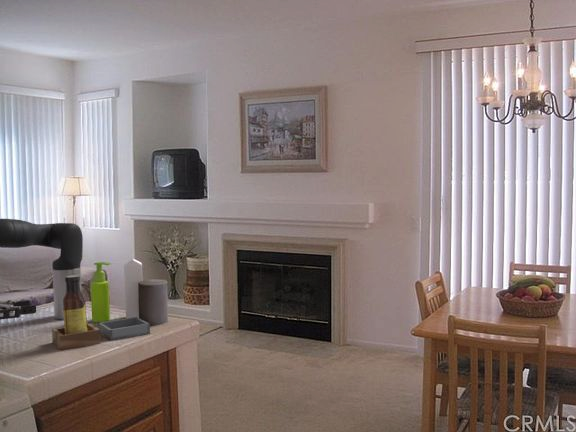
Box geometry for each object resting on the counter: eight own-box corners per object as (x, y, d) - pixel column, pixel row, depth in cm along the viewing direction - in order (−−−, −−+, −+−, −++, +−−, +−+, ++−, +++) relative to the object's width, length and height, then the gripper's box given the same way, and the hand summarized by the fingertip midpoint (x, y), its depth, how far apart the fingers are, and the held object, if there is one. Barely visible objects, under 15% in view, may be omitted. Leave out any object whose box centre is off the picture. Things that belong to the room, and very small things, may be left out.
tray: (98, 332, 177) (98, 322, 177) (136, 326, 184) (136, 317, 184) (110, 340, 168) (109, 330, 167) (150, 333, 175) (149, 323, 174)
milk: (126, 320, 192) (123, 256, 191) (125, 316, 198) (123, 254, 197) (144, 319, 194) (141, 255, 193) (143, 315, 200) (141, 253, 199)
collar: (52, 342, 166) (51, 329, 166) (90, 336, 173) (89, 323, 172) (60, 350, 158) (60, 336, 158) (100, 343, 165) (99, 329, 164)
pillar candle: (132, 323, 187) (131, 279, 186) (151, 317, 196) (150, 274, 195) (156, 327, 183) (155, 281, 182) (174, 320, 192) (173, 276, 191)
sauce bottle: (92, 341, 166) (89, 275, 165) (74, 347, 161) (71, 278, 160) (78, 339, 170) (75, 273, 169) (59, 344, 165) (57, 276, 163)
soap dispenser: (107, 322, 190) (105, 263, 189) (88, 321, 191) (86, 263, 190) (115, 318, 196) (113, 261, 195) (97, 317, 197) (95, 261, 196)
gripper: (-31, 304, 143) (37, 296, 152) (-37, 296, 154) (27, 289, 164) (-30, 333, 143) (38, 324, 152) (-36, 323, 155) (28, 315, 164)
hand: (32, 306), depth 158 cm, fingers open, 8 cm apart
